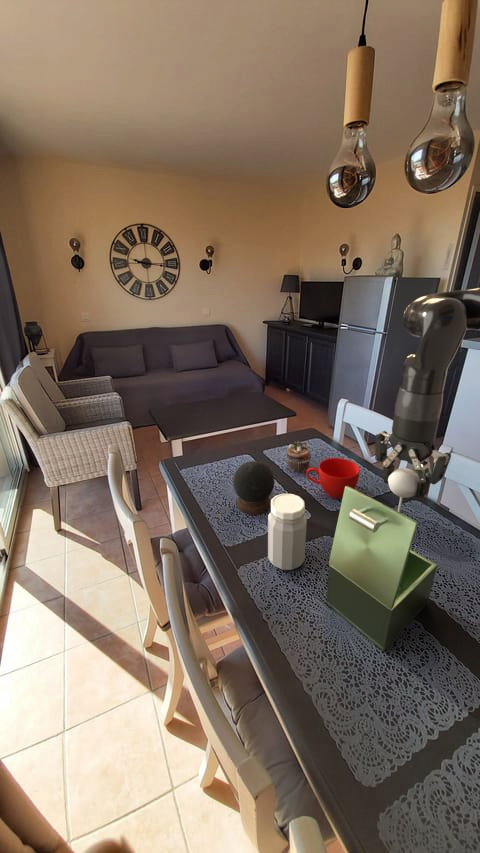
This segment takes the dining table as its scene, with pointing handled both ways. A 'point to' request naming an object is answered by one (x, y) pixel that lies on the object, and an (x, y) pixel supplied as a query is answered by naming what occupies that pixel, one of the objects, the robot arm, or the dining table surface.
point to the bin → (372, 613)
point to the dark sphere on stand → (253, 487)
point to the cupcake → (298, 457)
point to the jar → (287, 532)
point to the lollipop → (403, 483)
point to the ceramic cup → (336, 476)
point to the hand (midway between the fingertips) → (403, 488)
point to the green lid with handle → (372, 545)
